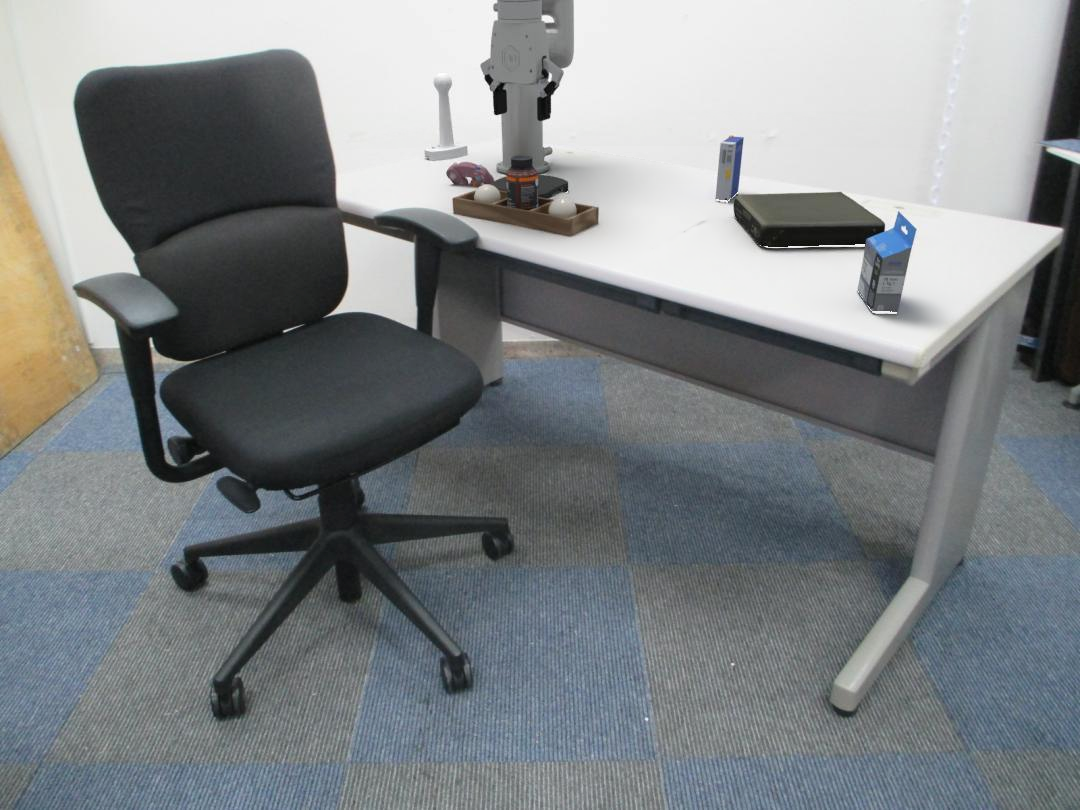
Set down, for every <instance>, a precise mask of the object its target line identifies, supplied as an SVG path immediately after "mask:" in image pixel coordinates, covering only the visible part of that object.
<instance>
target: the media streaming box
mask: <svg viewBox="0 0 1080 810" xmlns="http://www.w3.org/2000/svg"><path fill="white" fill-rule="evenodd" d="M506 180H507V179H506V176H503V177H500V178H498V179H496V180H494V182H492V183H491V184H490V185H493V186H495V187H496V188H497V189H498V190H501V191H507V181H506ZM567 191H568V192H569V182H568V180H566V179H563V178H560V177H557V176H553V175H549V174H538V197H542V198H548V199H551V198H552V197H554V196H556V195H559V194H560V193H562V194H563V193H565V192H567ZM565 194H566V193H565Z"/></svg>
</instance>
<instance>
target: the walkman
mask: <svg viewBox="0 0 1080 810" xmlns="http://www.w3.org/2000/svg"><path fill="white" fill-rule="evenodd" d="M744 140H745V139H744V136H734V135H729V136H728V138H725V139H724V140H723V141H722V142H720V143H719V144H720V145H719V155H718V156H719V158H718V169H717V176H716V177H717V178H716V186H715V187H716V190H715V199H719V200H727V201H728V200H729V199H730V198H732V197H733V196H734V195H735V194H736V193H737V192H738V193H739V185H740V179H741V178H740V176H741V169H742V157H743V147H744Z"/></svg>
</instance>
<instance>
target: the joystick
mask: <svg viewBox="0 0 1080 810" xmlns="http://www.w3.org/2000/svg"><path fill="white" fill-rule="evenodd" d="M433 86H434V87H435V90H436V91H437V93H438V115H439V116H438V117H439V118H438V120H439V121H438V123H439V125H438V126H439V144H433V145H431V148H428V149H427V148H425V149H424V150H423V151H424V158H425V159H426V158H428V161H430V160H431V161H430V162H437V161H436V160H438V161H444V160H451V159H452V160H453V159H455V158H456V159H457V158H460V157H464V156H467V155H468V145H467V144H463V143H456V144H455V142H454V141H455V140H454V133H453V124H452V123H453V122H452V114H451V106H450V98H449V97H450V96H449V91H450V90H451V88H452V86H453V80H452V77H451V76H450V74H448V73H446V72H439V73H437V74H436V75H435V76H434V78H433Z"/></svg>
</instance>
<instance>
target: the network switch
mask: <svg viewBox="0 0 1080 810" xmlns="http://www.w3.org/2000/svg"><path fill="white" fill-rule="evenodd" d="M733 201H734V202H733V207H732V209H733V214H734V218H735V217H736V218H737V219H738V220H737V219H736V218H735V219H736V220H737V221H738V222H739V223H740V225H742V227H743V226H744V227H745V228H744V227H743V228H744V229H745V230H746V231H747V232H748V234H749V235H750V236H751V237H752V238H753V240H754V242H755V241H756V242H755V244H756V243H758V244H759V245H761V246H768V247H788V246H819V245H855V244H866V239H867V238H870V237H872V236H875V235H877V234H880V233H882V232H885V231H886V223H885V222H884V221H883V220H882V219H881V218H880V217H878V216H877V215H875V214H874V213H872V212H871V211H870V210H868V209H866V208H865V207H864V206H863V205H861V204H859V203H858V202H857V201H856V200H854V199H852V198H851V197H850V196H847V195H846V194H845V193H843V192H842V191H831V192H830V191H829V192H828V191H827V192H788V193H750V194H749V193H748V194H746V193H745V194H744V193H741V194H739V195H736V196H735V197H734V200H733ZM758 244H757V245H758ZM759 245H758V246H759ZM761 246H760V247H761Z"/></svg>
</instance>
